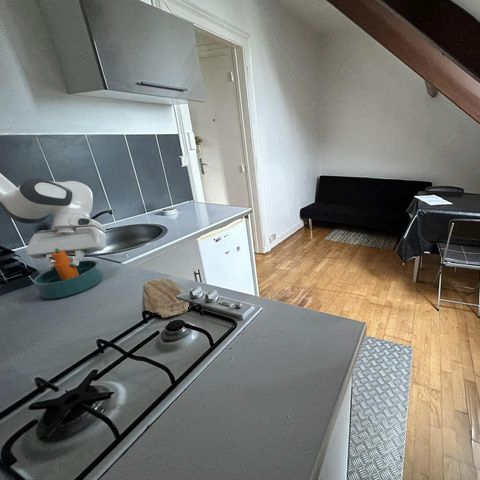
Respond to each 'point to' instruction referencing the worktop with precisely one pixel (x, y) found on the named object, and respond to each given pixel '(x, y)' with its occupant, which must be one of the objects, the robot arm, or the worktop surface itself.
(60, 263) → the carrot
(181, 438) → the worktop surface
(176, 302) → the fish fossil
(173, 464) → the worktop surface
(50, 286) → the bowl
